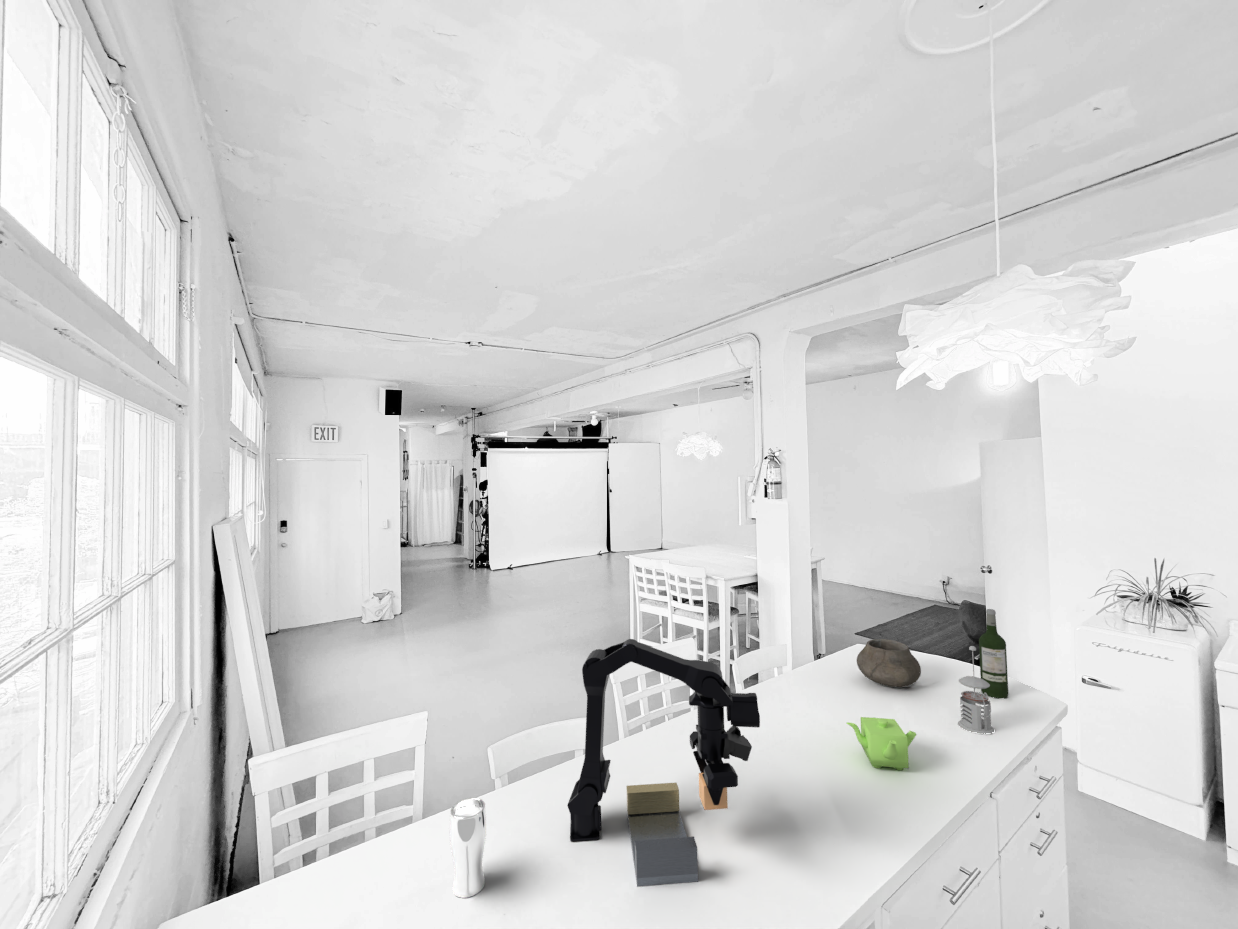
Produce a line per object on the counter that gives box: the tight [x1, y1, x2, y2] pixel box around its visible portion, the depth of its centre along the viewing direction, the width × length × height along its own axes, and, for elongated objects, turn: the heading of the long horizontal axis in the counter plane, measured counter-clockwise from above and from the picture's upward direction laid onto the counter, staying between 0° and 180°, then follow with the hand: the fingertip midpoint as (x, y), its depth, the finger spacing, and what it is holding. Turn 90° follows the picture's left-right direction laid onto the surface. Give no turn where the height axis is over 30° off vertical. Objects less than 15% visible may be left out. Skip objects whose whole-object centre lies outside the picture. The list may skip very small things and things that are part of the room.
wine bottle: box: [978, 608, 1009, 699], centre depth 185 cm, size 8×8×30 cm
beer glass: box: [449, 797, 487, 899], centre depth 101 cm, size 7×7×15 cm
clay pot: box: [856, 638, 922, 688], centre depth 197 cm, size 22×21×15 cm
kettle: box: [846, 716, 917, 771], centre depth 143 cm, size 15×14×11 cm
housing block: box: [698, 772, 729, 811], centre depth 113 cm, size 5×5×5 cm
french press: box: [957, 645, 995, 735], centre depth 161 cm, size 10×12×25 cm
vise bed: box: [626, 810, 699, 887], centre depth 112 cm, size 12×22×7 cm, turn 4°
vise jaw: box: [626, 782, 680, 814], centre depth 121 cm, size 12×3×5 cm, turn 94°
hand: (713, 797), depth 113 cm, fingers closed on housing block, 5 cm apart
